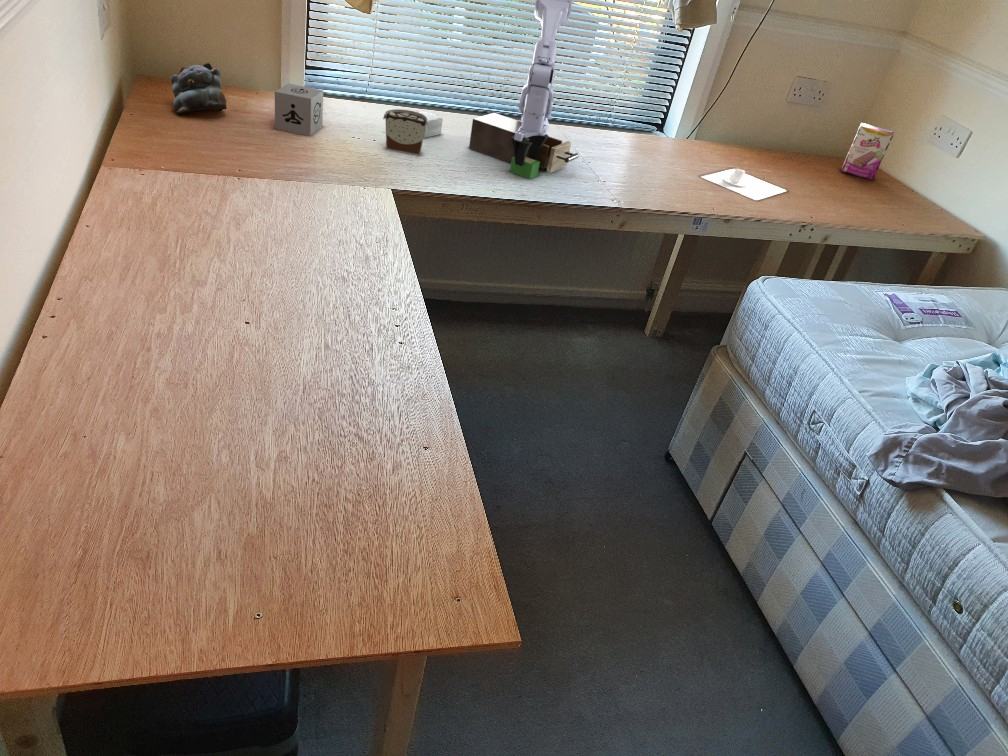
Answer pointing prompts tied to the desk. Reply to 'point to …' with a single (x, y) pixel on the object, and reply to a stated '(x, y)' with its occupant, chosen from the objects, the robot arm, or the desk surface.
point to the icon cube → (298, 109)
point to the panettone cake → (405, 130)
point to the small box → (432, 124)
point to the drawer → (554, 154)
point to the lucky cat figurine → (198, 89)
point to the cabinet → (494, 136)
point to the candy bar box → (867, 151)
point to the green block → (525, 168)
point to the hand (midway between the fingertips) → (525, 162)
